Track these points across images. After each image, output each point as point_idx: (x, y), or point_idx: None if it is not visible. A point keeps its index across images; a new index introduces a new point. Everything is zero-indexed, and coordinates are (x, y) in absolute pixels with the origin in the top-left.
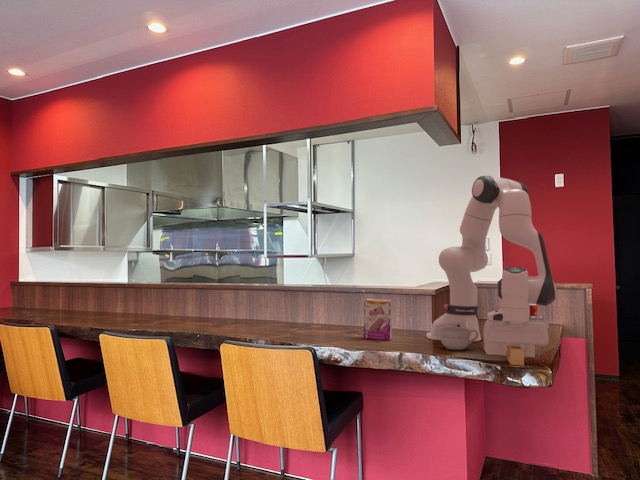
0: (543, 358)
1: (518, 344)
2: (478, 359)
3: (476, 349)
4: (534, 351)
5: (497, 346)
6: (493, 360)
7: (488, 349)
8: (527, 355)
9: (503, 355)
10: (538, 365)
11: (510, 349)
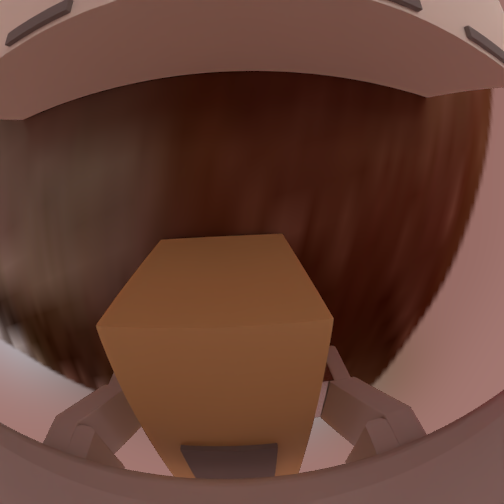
0: (468, 124)
1: (350, 14)
2: (9, 304)
3: None
4: (461, 90)
5: (40, 76)
6: (73, 311)
7: (2, 113)
8: (386, 81)
9: (145, 80)
10: (375, 352)
11: None
